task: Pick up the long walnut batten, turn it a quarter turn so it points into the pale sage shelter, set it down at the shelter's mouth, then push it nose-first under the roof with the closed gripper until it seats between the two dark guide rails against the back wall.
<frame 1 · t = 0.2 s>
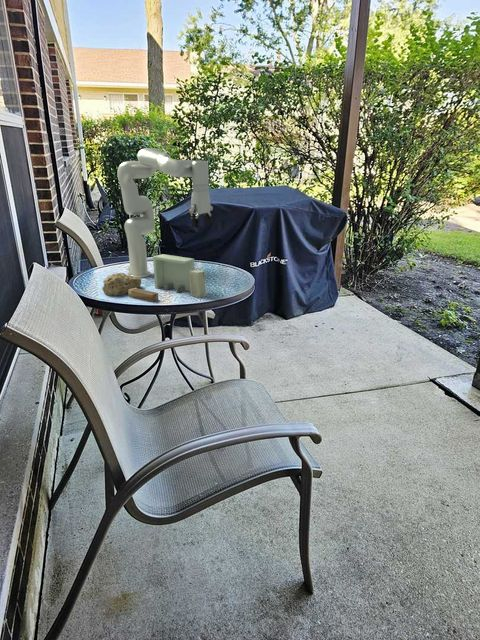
hand: (201, 225, 200), 31 cm above the table, tool pointing down, fingers open, 9 cm apart
walnut batten: (143, 298, 194), on the table
shelter: (174, 289, 207), on the table
skincare box: (198, 296, 198), on the table
rock: (122, 291, 206), on the table
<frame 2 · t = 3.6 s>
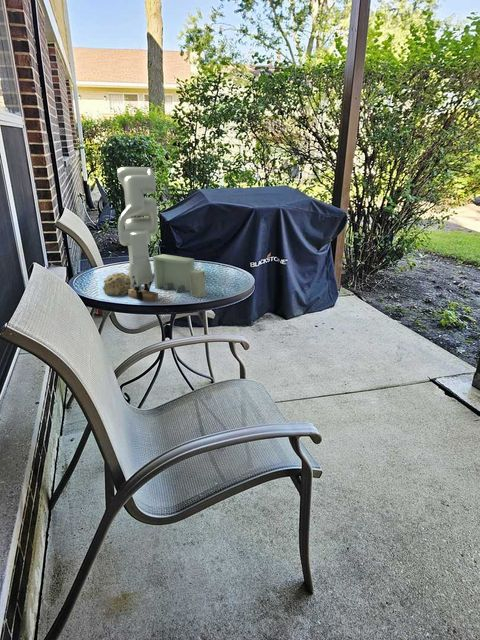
hand: (143, 297, 194), 0 cm above the table, tool pointing down, fingers closed on walnut batten, 4 cm apart
walnut batten: (143, 298, 194), on the table, touching gripper
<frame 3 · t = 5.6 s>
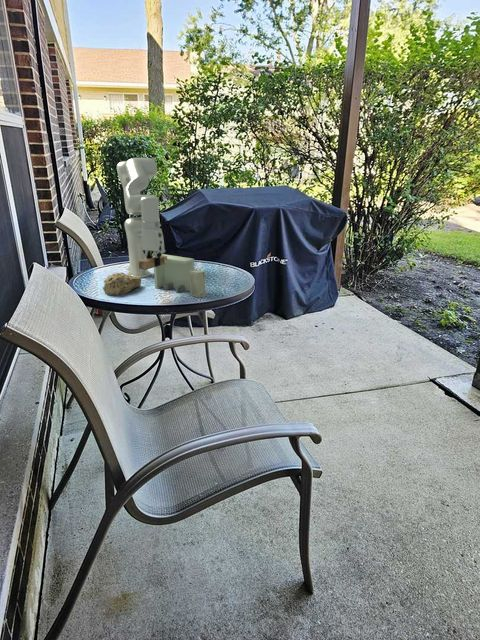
hand: (153, 265, 192), 15 cm above the table, tool pointing down, fingers closed on walnut batten, 4 cm apart
walnut batten: (153, 265, 192), point 15 cm above the table, touching gripper
everything else where it was.
when the fingers open (2 cm above the table, at t = 7.6 s): walnut batten drops 1 cm, on the table.
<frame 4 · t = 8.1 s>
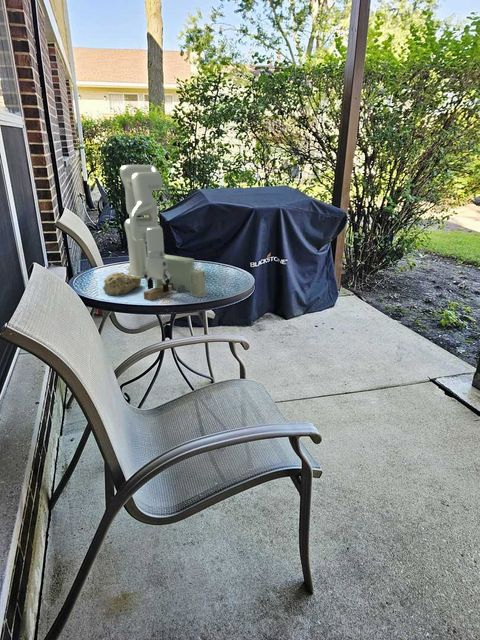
hand: (158, 290, 197), 3 cm above the table, tool pointing down, fingers open, 9 cm apart
walnut batten: (158, 295, 198), on the table
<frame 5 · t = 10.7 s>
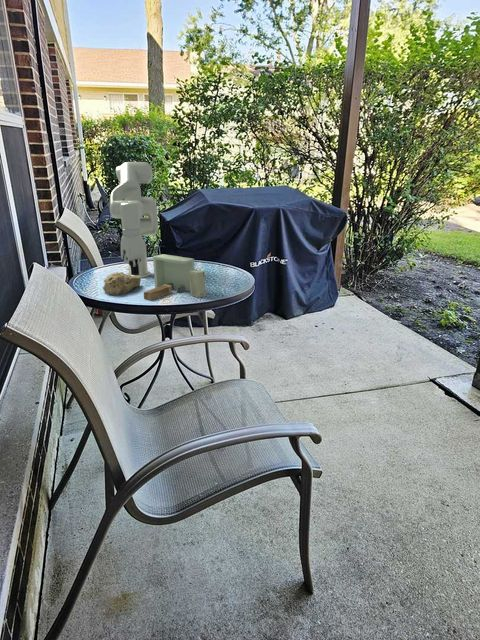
hand: (135, 274, 182), 13 cm above the table, tool pointing down, fingers closed
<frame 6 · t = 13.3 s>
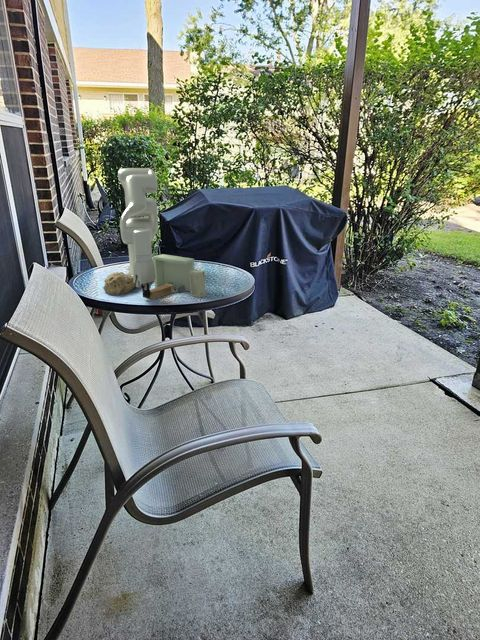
hand: (146, 297, 191), 1 cm above the table, tool pointing down, fingers closed
walnut batten: (160, 295, 199), on the table, touching gripper
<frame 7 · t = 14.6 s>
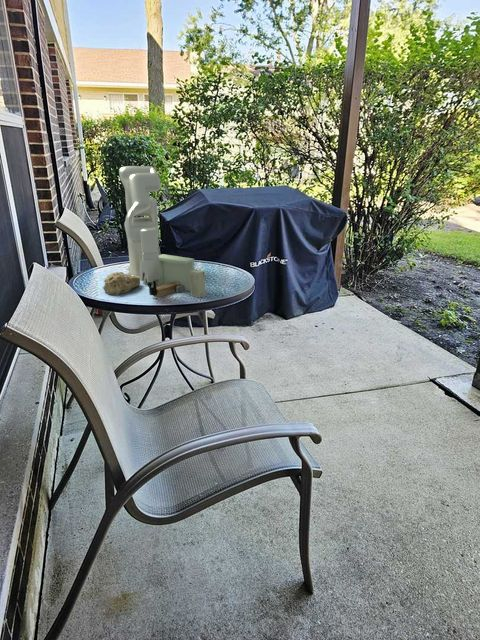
hand: (153, 294, 194), 1 cm above the table, tool pointing down, fingers closed
walnut batten: (166, 292, 202), on the table, touching gripper
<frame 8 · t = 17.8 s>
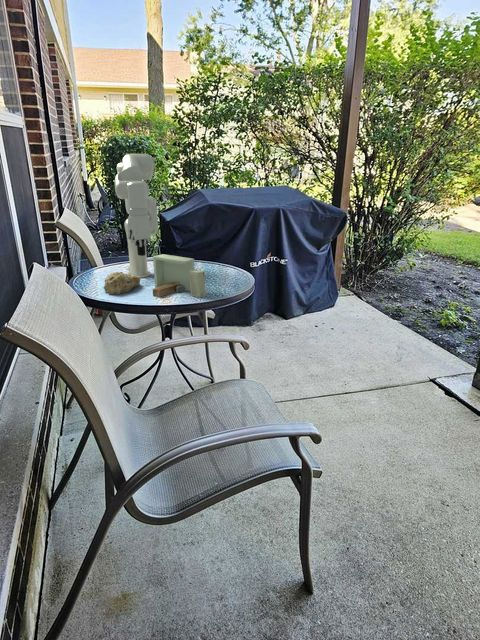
hand: (141, 255, 183), 21 cm above the table, tool pointing down, fingers closed
walnut batten: (166, 292, 202), on the table
at the end: walnut batten 0.2 cm from the target spot, on the table; the gripper is holding nothing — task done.
